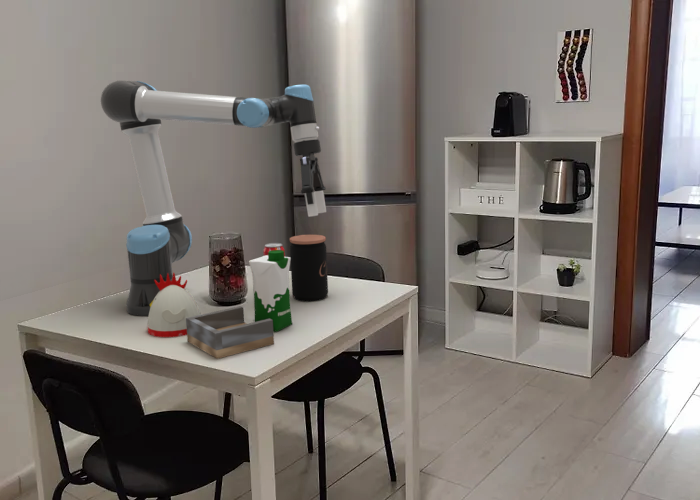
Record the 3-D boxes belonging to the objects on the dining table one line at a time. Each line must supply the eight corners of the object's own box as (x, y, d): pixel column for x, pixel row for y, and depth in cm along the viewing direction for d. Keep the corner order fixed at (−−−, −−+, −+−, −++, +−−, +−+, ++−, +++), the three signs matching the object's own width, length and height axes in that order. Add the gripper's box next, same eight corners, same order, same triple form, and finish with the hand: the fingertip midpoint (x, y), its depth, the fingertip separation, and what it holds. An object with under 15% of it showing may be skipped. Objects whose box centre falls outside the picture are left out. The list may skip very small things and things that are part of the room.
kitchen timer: (148, 324, 185) (143, 269, 182) (200, 318, 189) (196, 264, 186) (148, 340, 172) (142, 281, 169) (204, 333, 175) (200, 276, 172)
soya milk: (277, 333, 173) (273, 255, 169) (249, 328, 178) (244, 252, 174) (297, 323, 181) (293, 248, 177) (269, 319, 185) (265, 246, 181)
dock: (187, 341, 170) (185, 318, 168) (241, 328, 178) (240, 306, 177) (217, 358, 157) (215, 333, 156) (274, 343, 166) (272, 319, 165)
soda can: (290, 279, 228) (288, 244, 225) (274, 284, 223) (272, 247, 220) (276, 276, 232) (274, 241, 230) (260, 281, 227) (258, 245, 225)
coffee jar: (327, 301, 201) (324, 240, 197) (290, 302, 201) (287, 241, 197) (329, 291, 211) (326, 234, 208) (294, 292, 212) (291, 234, 208)
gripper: (310, 136, 184) (322, 215, 186) (326, 140, 208) (337, 209, 210) (283, 141, 185) (295, 219, 187) (302, 144, 209) (313, 213, 211)
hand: (317, 214), depth 198 cm, fingers open, 13 cm apart
